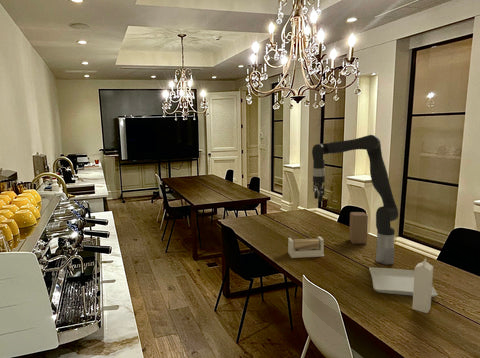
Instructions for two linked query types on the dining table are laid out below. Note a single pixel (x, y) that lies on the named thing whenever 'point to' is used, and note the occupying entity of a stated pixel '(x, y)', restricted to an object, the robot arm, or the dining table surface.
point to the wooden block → (358, 227)
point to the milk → (422, 287)
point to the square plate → (394, 281)
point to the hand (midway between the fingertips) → (318, 199)
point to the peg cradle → (306, 250)
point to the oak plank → (306, 243)
